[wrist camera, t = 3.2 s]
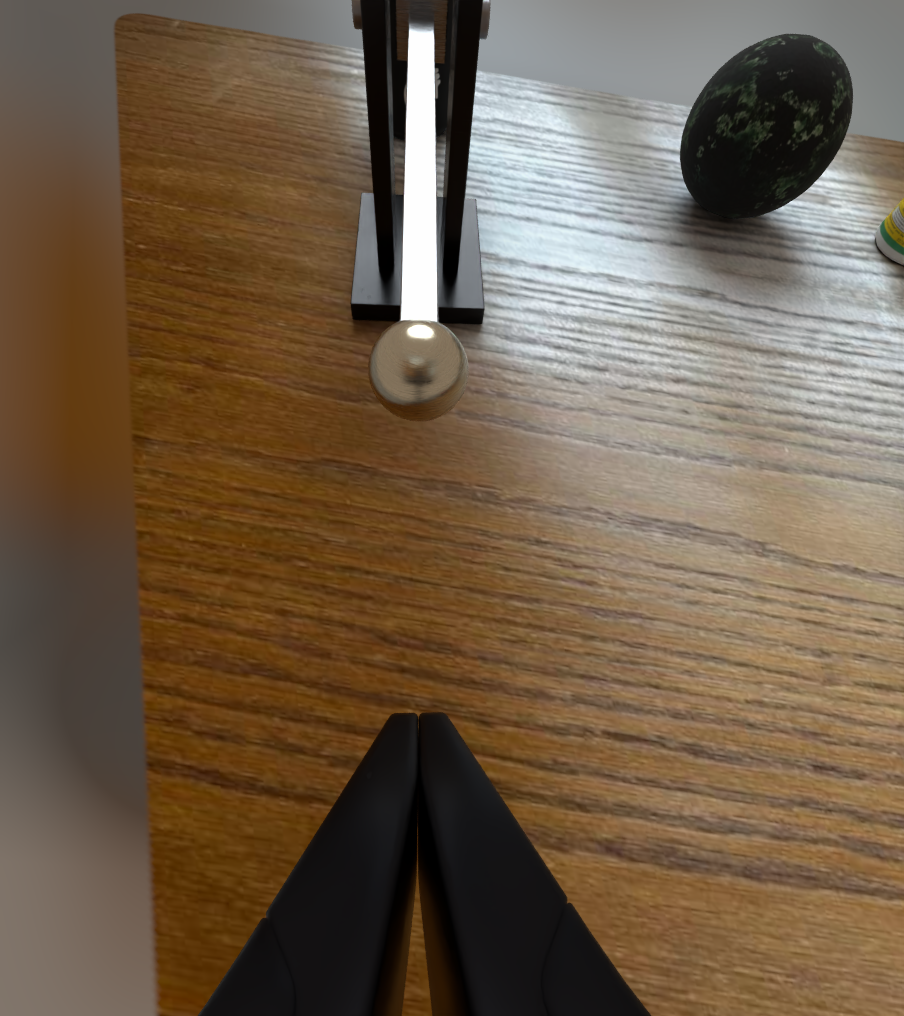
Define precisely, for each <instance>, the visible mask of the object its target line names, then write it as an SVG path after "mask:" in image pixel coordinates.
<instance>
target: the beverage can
mask: <svg viewBox="0 0 904 1016" xmlns="http://www.w3.org/2000/svg"><path fill="white" fill-rule="evenodd" d="M452 19H453V0H448V12H447V33H446V54H445V64H439V63H435V97H436V137H438V136H440V135H441V134H443V132H444V131H445V130H446V128H447V112H448V94H449V75H450V56H451V38H452ZM390 32H391V65H392V98H393V131H394V137H396V138H399V139H403V140H405V122H406V87H407V61H399V60H397V49H396V8H395V0H390Z"/></svg>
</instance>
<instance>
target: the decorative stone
mask: <svg viewBox="0 0 904 1016" xmlns="http://www.w3.org/2000/svg"><path fill="white" fill-rule="evenodd" d="M852 103H853V89H852V82H851V77H850V73H849V71H848V68H847V66H846V64H845V62H844V61H843V59H842V58H841V56H840V55H839V54H838V53H837V51H836V50H835V49H833V48H832V47H831V46H830V45H828V44H827V43H825V42H823V41H822V40H820V39H818V38H815V37H813V36H810V35H800V34H783V35H779V36H775V37H771V38H768V39H766V40H763V41H760V42H758V43H756V44H754V45H752V46H750V47H748V48H746V49H744V50H743V51H741V52H739V53H738V54H737V55H735V56H734V57H733V58H731V59H730V60H729V61H728V62H727V63H725V65H723V66H722V67H721V68H720V69H719V70H718V71H717V72H716V73H715V75H714V76H713V77H712V78H711V79H710V80H709V82H708V83H707V84H706V86H705V87H704V89H703V90H702V92H701V93H700V95H699V97H698V98H697V100H696V102H695V103H694V105H693V107H692V109H691V112H690V114H689V116H688V119H687V122H686V125H685V128H684V131H683V135H682V140H681V149H680V162H681V170H682V175H683V178H684V182H685V184H686V186H687V188H688V190H689V192H690V194H691V195H692V197H693V198H694V199H695V200H696V201H697V202H698V203H699V204H700V205H701V206H702V207H704V208H705V209H707V210H709V211H711V212H713V213H715V214H717V215H720V216H723V217H726V218H736V219H738V218H750V217H756V216H760V215H763V214H766V213H769V212H771V211H774V210H776V209H778V208H780V207H782V206H784V205H786V204H787V203H789V202H790V201H792V200H794V199H795V198H797V197H798V196H799V195H801V194H802V193H803V192H805V191H806V190H807V189H808V188H809V187H810V186H811V185H812V184H813V183H814V182H815V181H816V180H817V179H818V178H819V177H820V176H821V175H822V174H823V172H824V171H825V170H826V168H827V167H828V166H829V164H830V163H831V162H832V160H833V159H834V157H835V156H836V154H837V152H838V150H839V149H840V147H841V145H842V142H843V140H844V138H845V135H846V132H847V129H848V126H849V123H850V119H851V114H852Z"/></svg>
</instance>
